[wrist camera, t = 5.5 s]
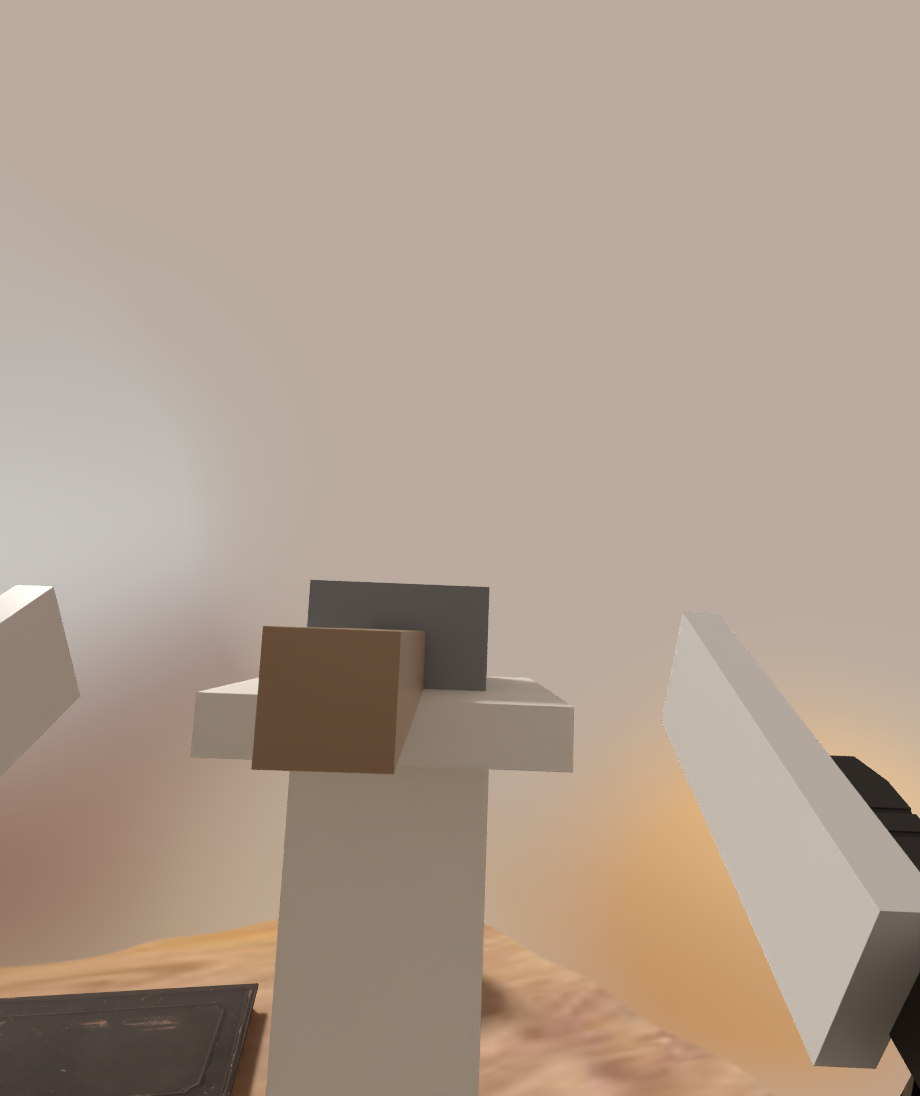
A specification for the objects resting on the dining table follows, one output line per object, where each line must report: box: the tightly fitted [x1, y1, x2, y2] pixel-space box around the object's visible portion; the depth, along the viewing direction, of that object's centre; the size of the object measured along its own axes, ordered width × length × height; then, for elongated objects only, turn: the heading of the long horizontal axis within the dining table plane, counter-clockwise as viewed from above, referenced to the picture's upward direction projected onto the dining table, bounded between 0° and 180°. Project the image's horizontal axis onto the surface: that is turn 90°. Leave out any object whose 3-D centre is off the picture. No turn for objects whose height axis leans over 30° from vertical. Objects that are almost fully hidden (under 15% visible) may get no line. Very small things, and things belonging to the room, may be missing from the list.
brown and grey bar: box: [252, 580, 489, 774], centre depth 21 cm, size 22×7×4 cm, turn 2°
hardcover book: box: [0, 983, 258, 1096], centre depth 42 cm, size 16×23×2 cm
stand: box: [190, 676, 574, 1096], centre depth 23 cm, size 12×12×30 cm
